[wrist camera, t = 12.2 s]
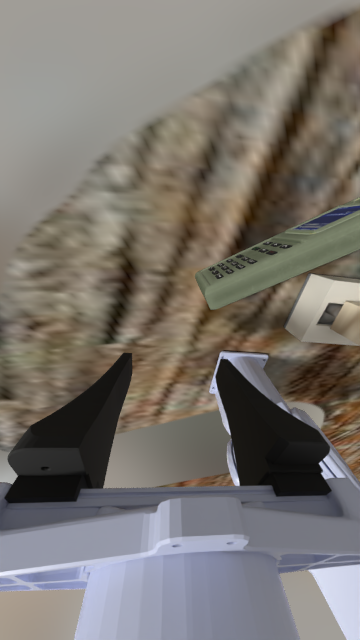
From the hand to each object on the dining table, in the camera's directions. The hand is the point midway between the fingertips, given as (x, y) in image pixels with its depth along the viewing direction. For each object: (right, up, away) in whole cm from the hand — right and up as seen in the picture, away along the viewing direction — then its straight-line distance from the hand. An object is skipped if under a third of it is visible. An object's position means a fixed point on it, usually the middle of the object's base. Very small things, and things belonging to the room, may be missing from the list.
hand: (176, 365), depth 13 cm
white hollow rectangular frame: (+24, +6, +10) cm, 26 cm away
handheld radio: (+14, +13, +6) cm, 20 cm away
